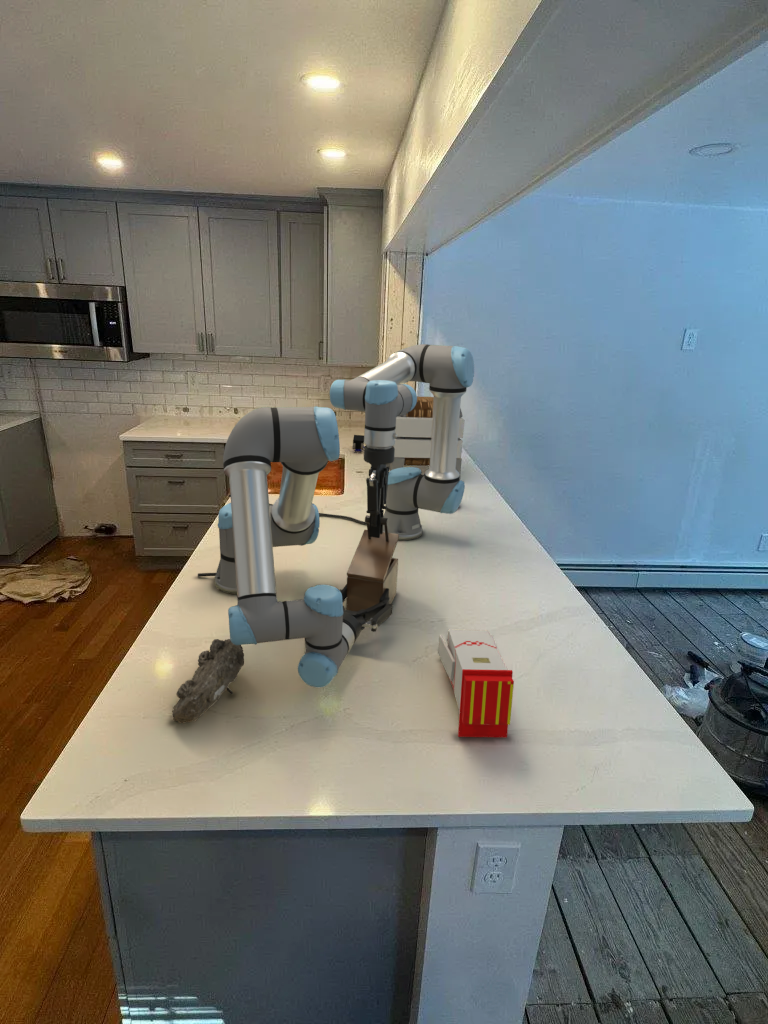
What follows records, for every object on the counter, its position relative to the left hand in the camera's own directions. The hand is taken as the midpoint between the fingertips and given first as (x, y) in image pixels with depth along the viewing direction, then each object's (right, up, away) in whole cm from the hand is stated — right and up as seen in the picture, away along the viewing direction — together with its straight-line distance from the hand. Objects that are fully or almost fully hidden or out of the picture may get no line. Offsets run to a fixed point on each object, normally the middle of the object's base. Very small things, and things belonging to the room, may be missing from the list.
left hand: (368, 589), depth 146 cm
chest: (+1, -5, +6) cm, 8 cm away
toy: (+22, -18, -27) cm, 39 cm away
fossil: (-30, -17, -31) cm, 46 cm away
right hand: (+2, +14, +1) cm, 14 cm away
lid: (+1, +8, +1) cm, 9 cm away
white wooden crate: (+21, +39, +129) cm, 137 cm away
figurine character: (-10, +54, +167) cm, 176 cm away
